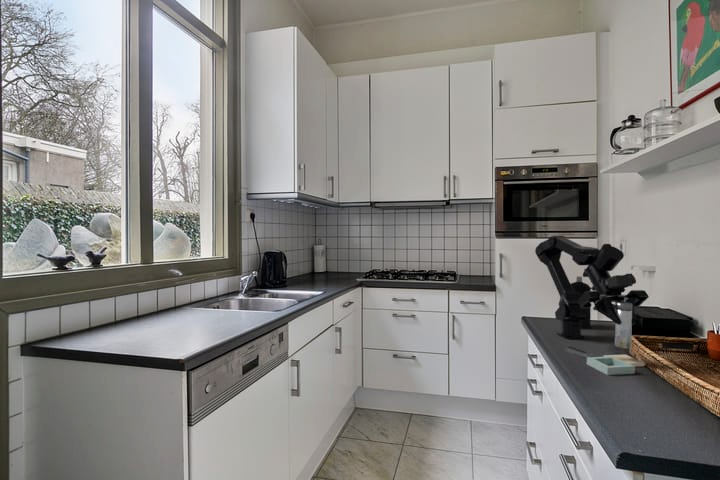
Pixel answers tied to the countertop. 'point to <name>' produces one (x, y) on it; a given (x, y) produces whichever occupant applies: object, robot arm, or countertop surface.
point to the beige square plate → (628, 360)
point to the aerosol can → (581, 288)
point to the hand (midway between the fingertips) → (626, 323)
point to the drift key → (579, 352)
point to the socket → (617, 367)
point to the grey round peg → (623, 324)
